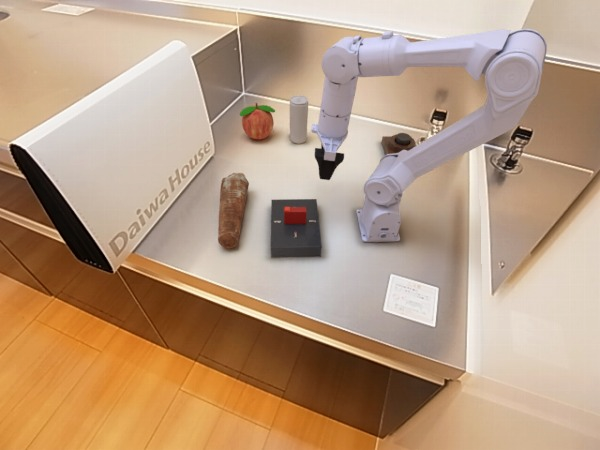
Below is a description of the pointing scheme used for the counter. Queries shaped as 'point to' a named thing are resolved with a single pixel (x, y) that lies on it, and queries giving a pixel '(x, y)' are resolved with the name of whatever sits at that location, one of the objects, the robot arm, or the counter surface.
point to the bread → (231, 208)
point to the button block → (395, 145)
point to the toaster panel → (295, 230)
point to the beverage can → (298, 119)
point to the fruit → (257, 121)
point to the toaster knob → (294, 215)
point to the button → (403, 139)
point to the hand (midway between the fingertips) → (325, 166)
